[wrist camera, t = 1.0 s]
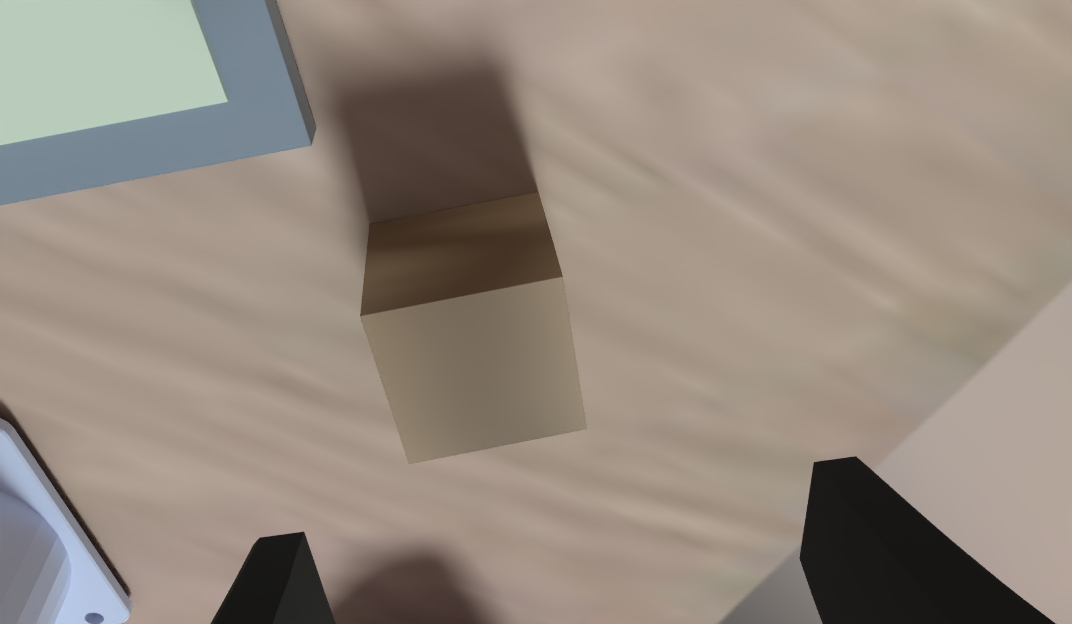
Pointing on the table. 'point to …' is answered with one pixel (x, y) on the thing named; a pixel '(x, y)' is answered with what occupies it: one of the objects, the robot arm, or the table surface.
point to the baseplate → (141, 90)
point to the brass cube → (471, 328)
